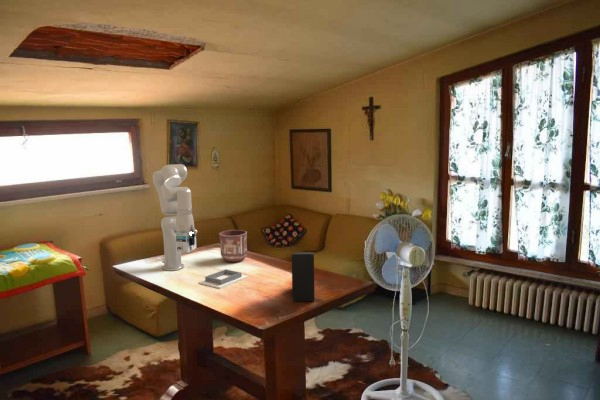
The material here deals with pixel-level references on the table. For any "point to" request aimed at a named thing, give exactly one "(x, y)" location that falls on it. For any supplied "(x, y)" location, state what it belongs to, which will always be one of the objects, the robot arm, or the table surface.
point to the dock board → (223, 278)
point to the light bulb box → (184, 242)
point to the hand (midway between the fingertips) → (186, 243)
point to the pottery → (233, 245)
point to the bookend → (303, 276)
